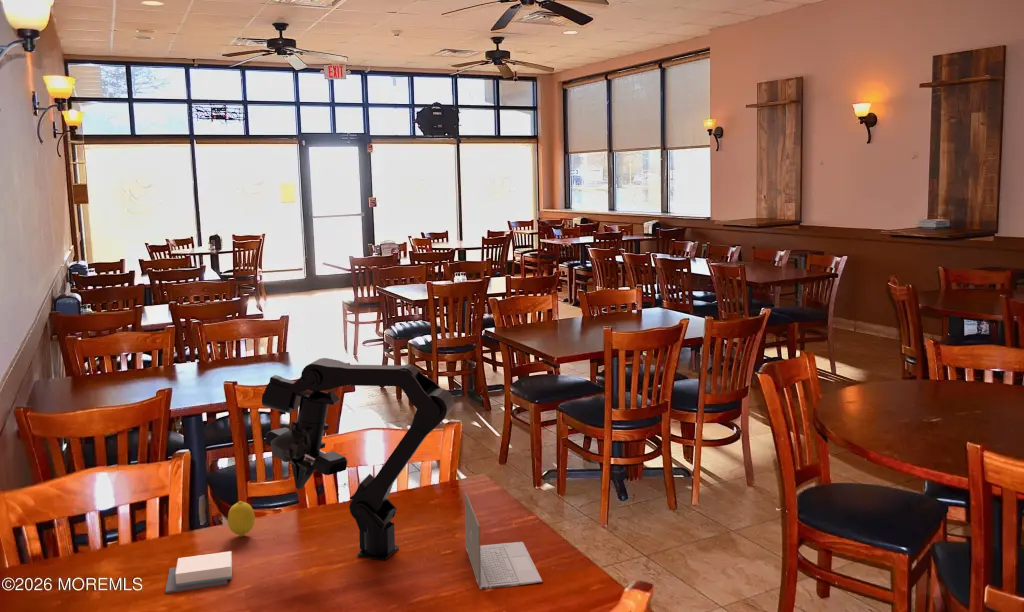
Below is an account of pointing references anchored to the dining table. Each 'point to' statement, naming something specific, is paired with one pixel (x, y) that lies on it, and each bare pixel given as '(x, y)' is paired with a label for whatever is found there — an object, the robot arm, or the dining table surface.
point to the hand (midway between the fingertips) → (298, 488)
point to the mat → (173, 588)
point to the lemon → (241, 518)
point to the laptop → (497, 558)
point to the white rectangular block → (204, 568)
